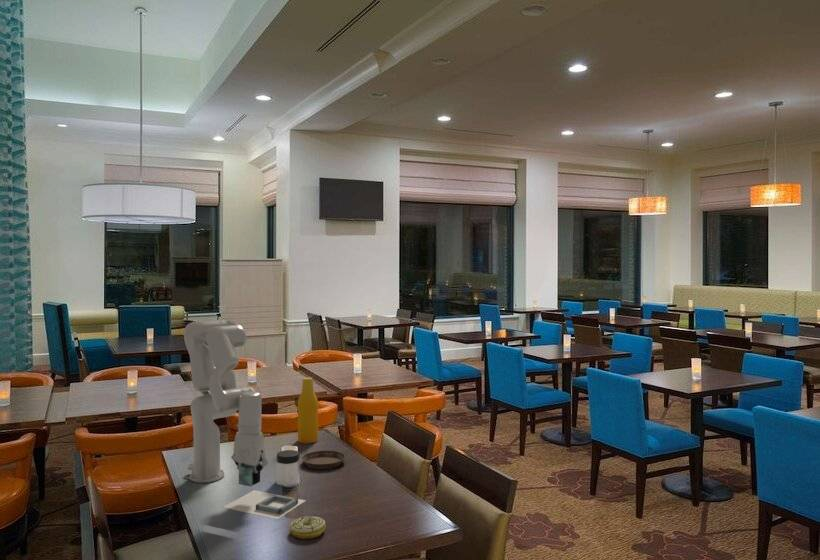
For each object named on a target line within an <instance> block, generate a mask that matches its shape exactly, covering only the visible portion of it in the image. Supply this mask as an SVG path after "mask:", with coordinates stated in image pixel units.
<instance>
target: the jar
mask: <svg viewBox="0 0 820 560" xmlns="http://www.w3.org/2000/svg"><path fill="white" fill-rule="evenodd" d="M275 466H276V467H275V468H276V469H275V471H276V473H275V476H276V477H275V478H276V479H275V481H276V482H275V484H276V485H280V486H284V487H289V486H293V485H298V484H300V452H299V451H298V450H294V449H285V450H280V451H278V452H277V453H276V464H275Z"/></svg>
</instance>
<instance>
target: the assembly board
mask: <svg viewBox="0 0 820 560" xmlns="http://www.w3.org/2000/svg"><path fill="white" fill-rule="evenodd" d="M306 501H307V500H305V499H300V498H296V497H290V496H284V495H280V494H276V493H270V492H265V491H260V490H255V489H253V490H252V491H250V492H248V493H246V494H244V495H243V496H241V497H239V498H237V499H235V500H233V501H231V502H230V503H228V504H226V505H224V506H222V508H224V509H228V510H233V511H238V512H241V513H246V514H252V515H256V516H259V517H260V516H261V517H265V518H271V519H274V520H278V519H280V518H282V517H284V516H285V515H286V514H288V513H289V512H291V511H293V510H294V509H295V508H297V507H299V506H300V505H302V504H303V503H305V502H306Z"/></svg>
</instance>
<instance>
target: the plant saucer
mask: <svg viewBox="0 0 820 560" xmlns="http://www.w3.org/2000/svg"><path fill="white" fill-rule="evenodd" d="M345 458H346V455H345V453H342V452H340V451H335V450H318V451H317V450H315V451H312V452H311V451H310V452H307V453H305V454H303V455H302V457H301V460H302V462H303V463H304V465H306V466H307V467H308V468H310V469H314V470H327V469H329V470H330V469H334V468H337V467H339V466H340V465H341V464H342V463H343V461H345Z"/></svg>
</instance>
